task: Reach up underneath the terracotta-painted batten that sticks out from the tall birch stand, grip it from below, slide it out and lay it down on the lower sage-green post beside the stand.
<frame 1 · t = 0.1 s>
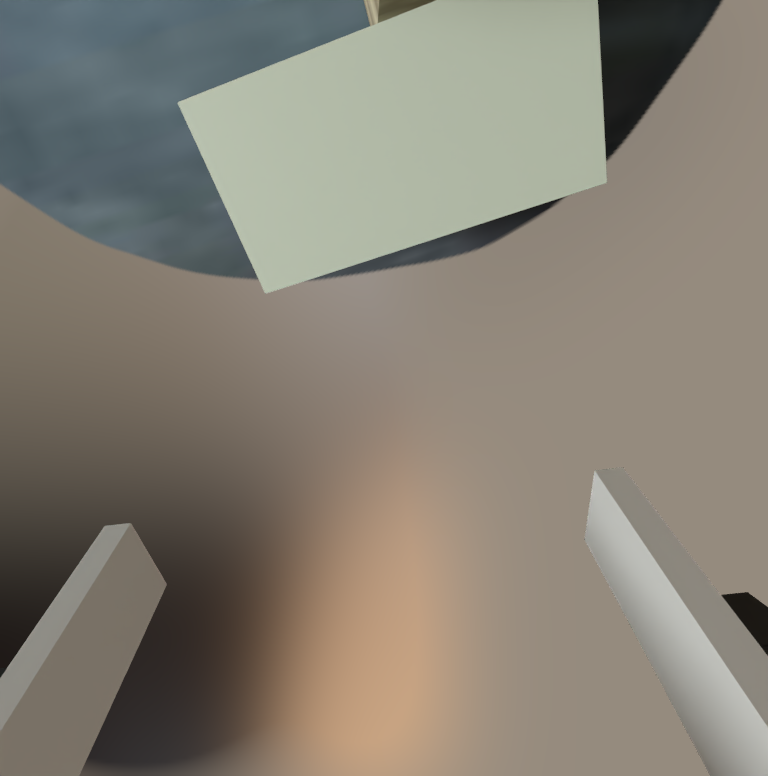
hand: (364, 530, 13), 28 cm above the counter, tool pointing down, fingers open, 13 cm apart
post low: (386, 143, 32), on the counter
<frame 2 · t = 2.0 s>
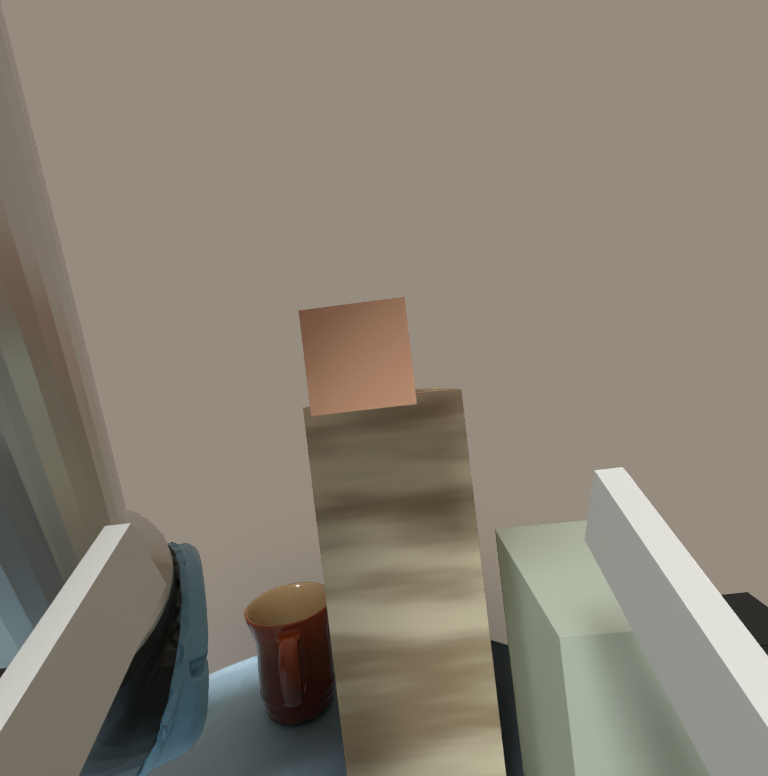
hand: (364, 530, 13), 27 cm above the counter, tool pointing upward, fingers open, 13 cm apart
mug: (301, 716, 42), on the counter
batten: (383, 397, 30), point 30 cm above the counter, touching stand
stand: (429, 750, 36), on the counter
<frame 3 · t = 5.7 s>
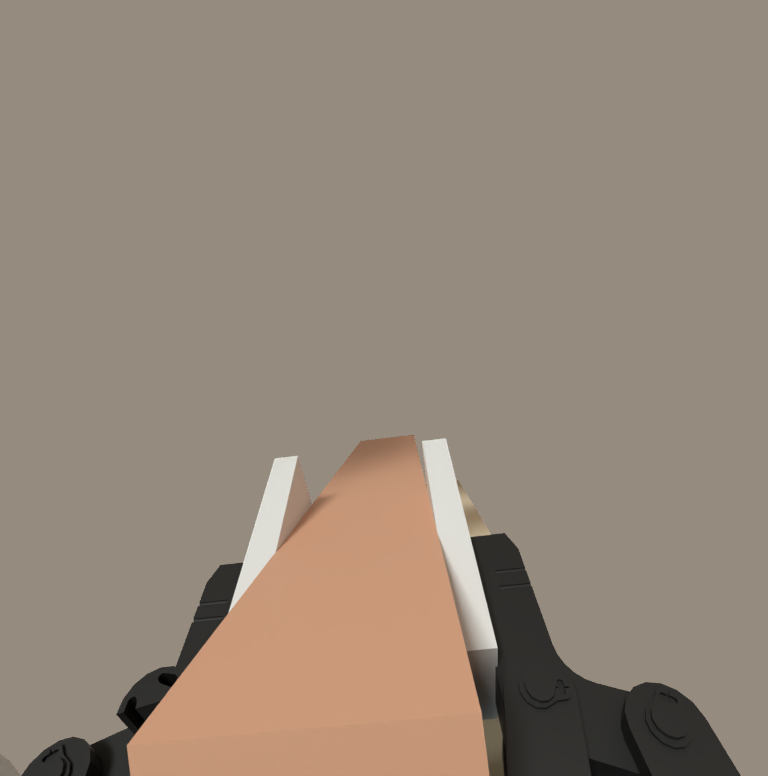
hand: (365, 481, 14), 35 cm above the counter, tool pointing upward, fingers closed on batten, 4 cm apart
batten: (387, 567, 19), point 30 cm above the counter, touching gripper, stand
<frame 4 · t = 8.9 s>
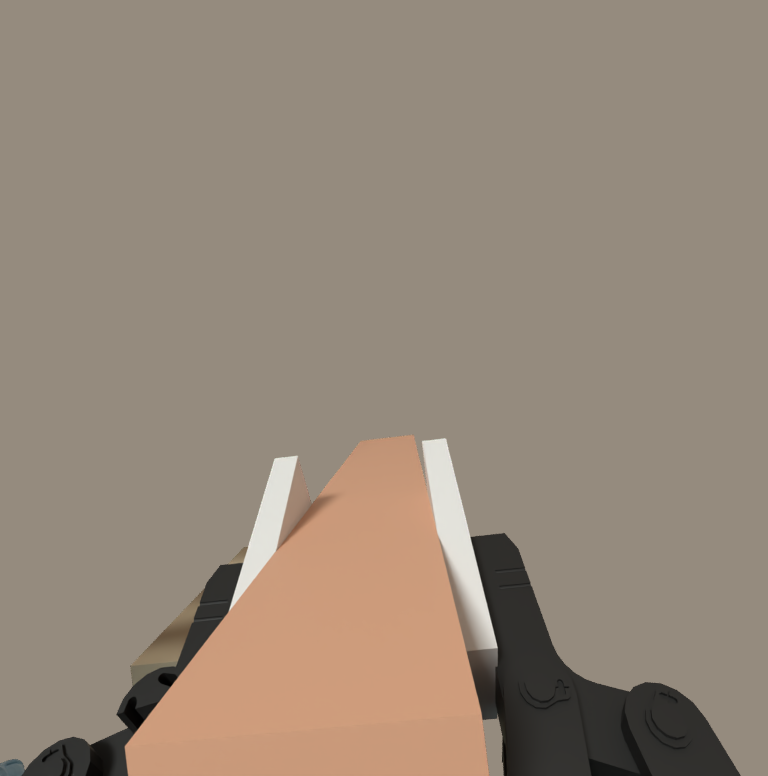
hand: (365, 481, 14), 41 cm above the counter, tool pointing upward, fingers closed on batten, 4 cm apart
batten: (387, 567, 19), point 36 cm above the counter, touching gripper
when the fingers open (25 cm above the counter, at t = 12.2 s): batten stays where it is, resting on post low.
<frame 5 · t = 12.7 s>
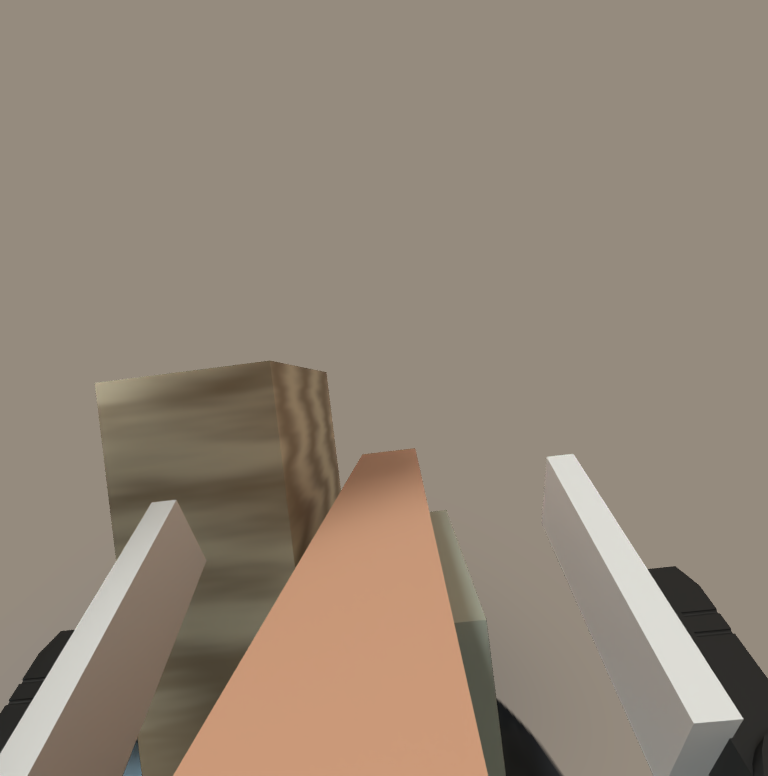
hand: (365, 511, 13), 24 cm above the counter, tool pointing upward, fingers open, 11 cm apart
batten: (390, 591, 19), point 19 cm above the counter, touching post low
stand: (288, 768, 33), on the counter
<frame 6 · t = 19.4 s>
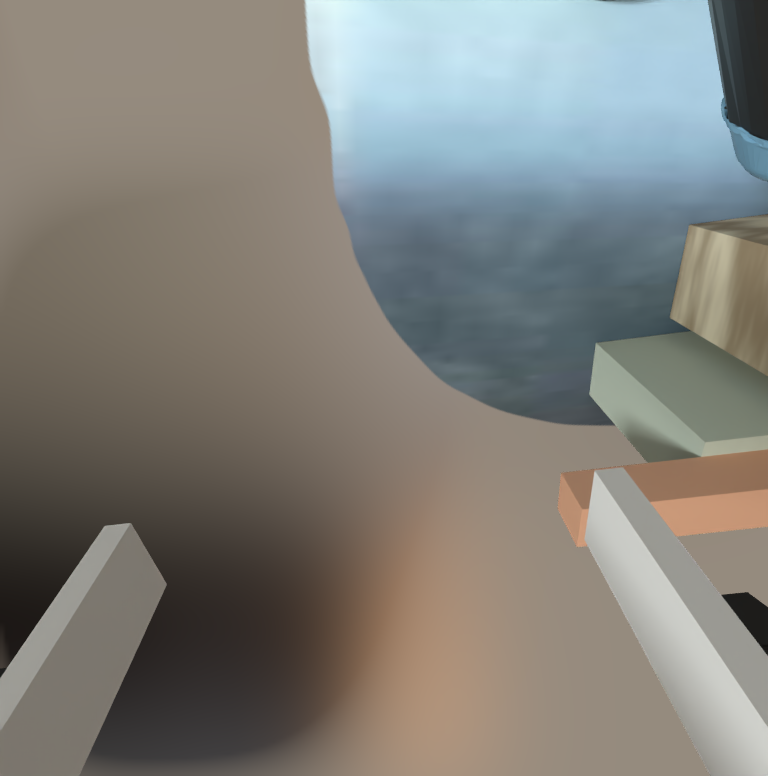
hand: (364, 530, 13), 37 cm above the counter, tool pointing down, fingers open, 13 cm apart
batten: (732, 471, 35), point 19 cm above the counter, touching post low
post low: (652, 362, 52), on the counter
stand: (765, 262, 46), on the counter
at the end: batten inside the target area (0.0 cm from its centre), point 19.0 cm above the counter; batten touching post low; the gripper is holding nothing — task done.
